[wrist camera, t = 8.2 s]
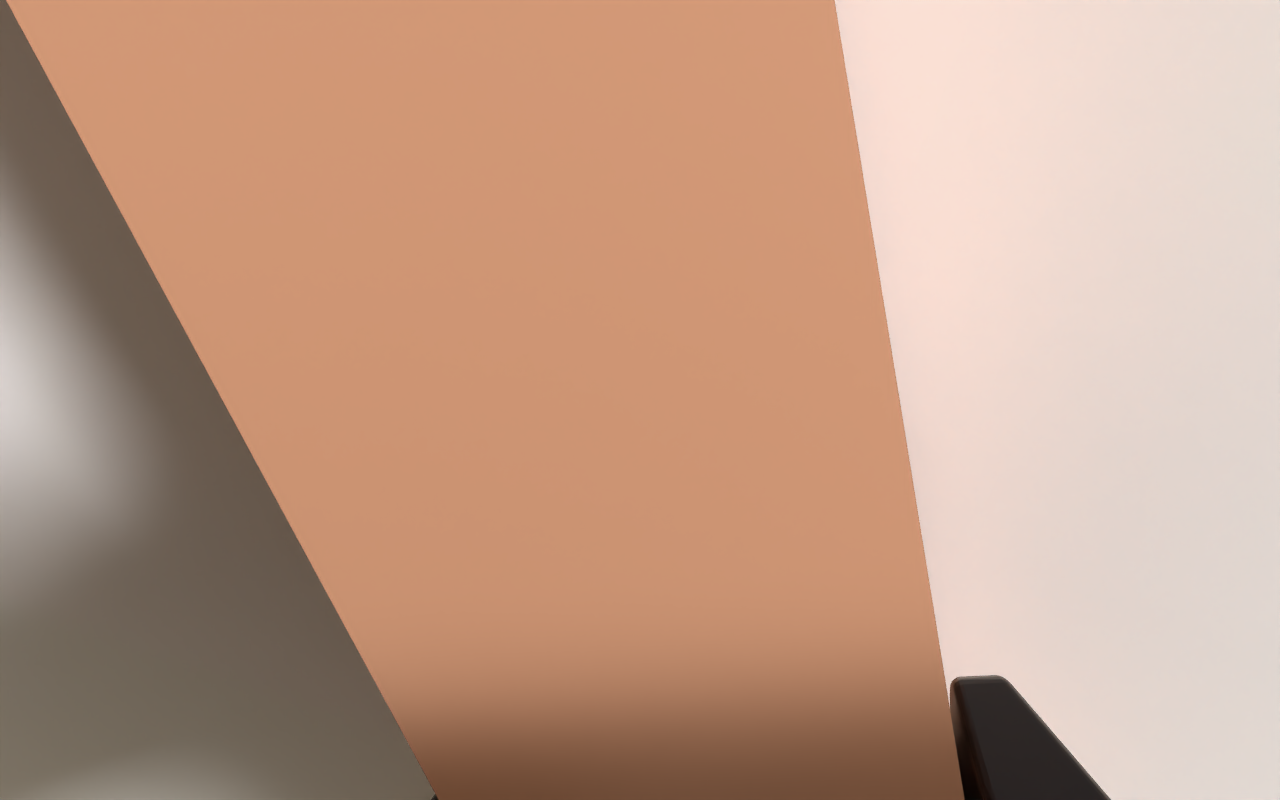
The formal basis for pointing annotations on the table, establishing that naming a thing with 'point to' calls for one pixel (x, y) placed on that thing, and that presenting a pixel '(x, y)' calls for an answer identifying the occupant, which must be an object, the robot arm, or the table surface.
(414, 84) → the salmon orange bar
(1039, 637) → the table surface
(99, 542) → the table surface
